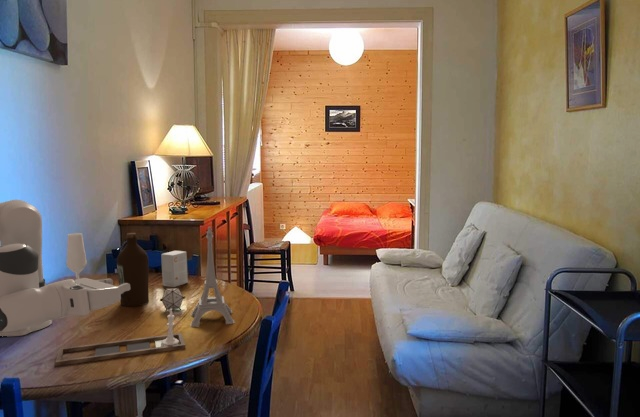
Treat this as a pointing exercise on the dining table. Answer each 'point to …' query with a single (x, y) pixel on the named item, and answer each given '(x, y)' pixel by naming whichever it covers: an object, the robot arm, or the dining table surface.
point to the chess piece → (170, 332)
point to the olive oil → (133, 272)
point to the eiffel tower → (205, 301)
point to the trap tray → (119, 354)
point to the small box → (174, 268)
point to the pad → (159, 343)
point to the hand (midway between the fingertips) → (120, 283)
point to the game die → (172, 298)
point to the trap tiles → (116, 348)
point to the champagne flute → (76, 253)
